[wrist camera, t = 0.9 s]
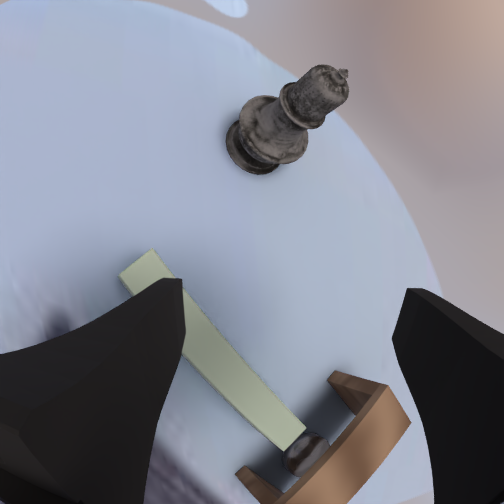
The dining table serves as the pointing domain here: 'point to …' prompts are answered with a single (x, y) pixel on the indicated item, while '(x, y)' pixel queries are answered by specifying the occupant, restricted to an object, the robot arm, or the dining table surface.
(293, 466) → the disc
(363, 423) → the wooden bridge block
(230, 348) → the bar
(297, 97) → the salt shaker
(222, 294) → the dining table surface
